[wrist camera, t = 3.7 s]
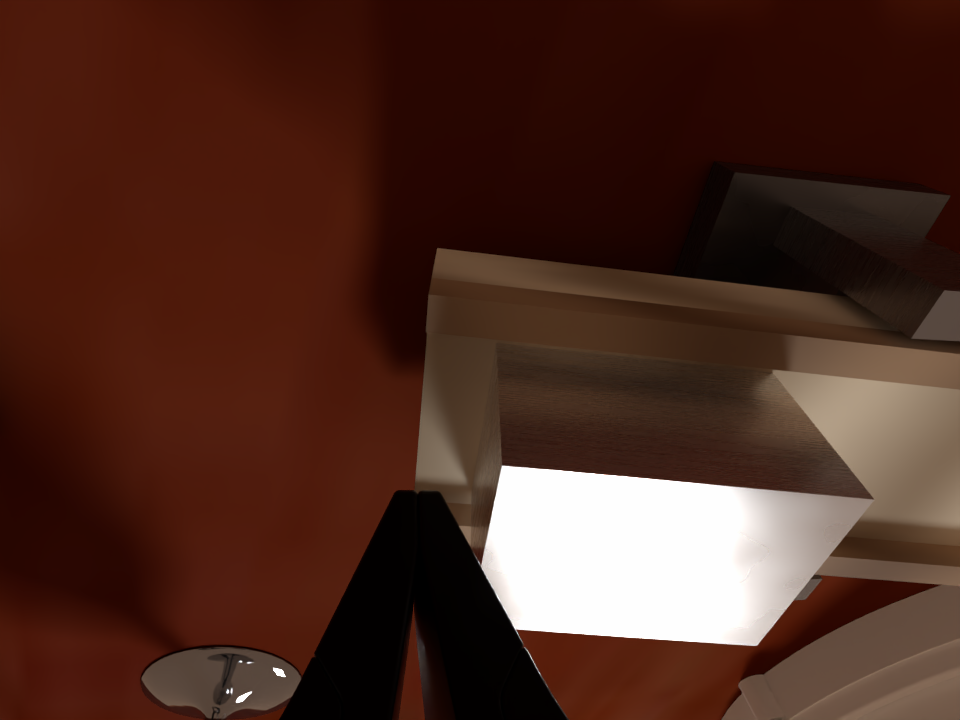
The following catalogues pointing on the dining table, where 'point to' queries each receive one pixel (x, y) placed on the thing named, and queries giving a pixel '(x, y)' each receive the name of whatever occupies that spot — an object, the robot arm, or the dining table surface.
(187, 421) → the dining table surface
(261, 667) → the wine glass
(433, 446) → the beam
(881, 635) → the dome cover
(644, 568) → the steel block
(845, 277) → the pivot stand
